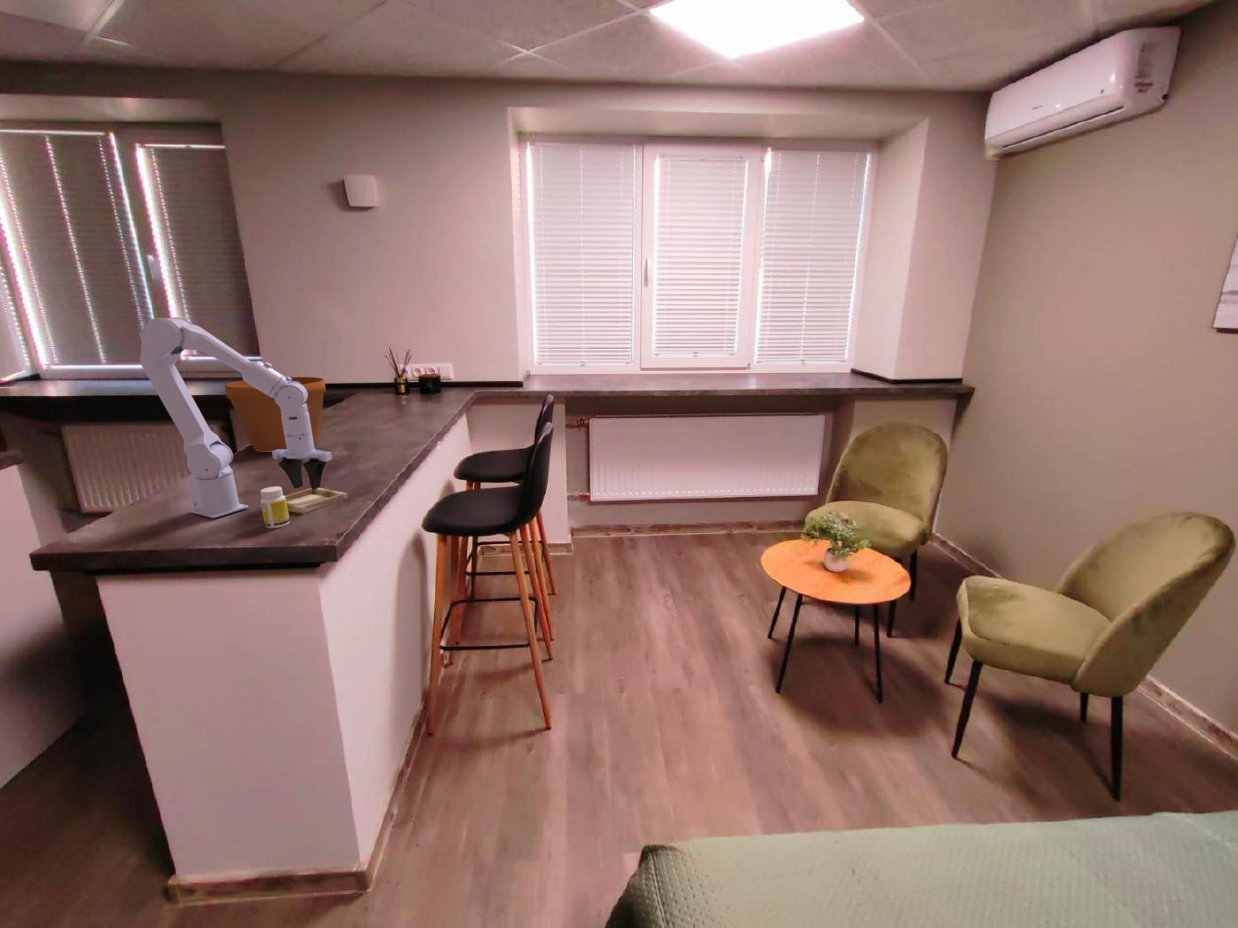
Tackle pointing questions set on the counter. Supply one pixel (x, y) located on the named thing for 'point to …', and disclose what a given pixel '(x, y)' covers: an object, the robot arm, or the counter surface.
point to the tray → (312, 500)
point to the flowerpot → (273, 412)
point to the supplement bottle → (274, 507)
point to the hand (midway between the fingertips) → (307, 487)
